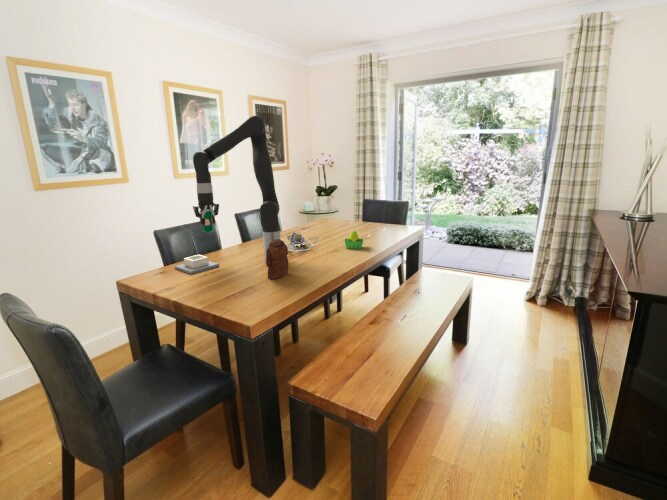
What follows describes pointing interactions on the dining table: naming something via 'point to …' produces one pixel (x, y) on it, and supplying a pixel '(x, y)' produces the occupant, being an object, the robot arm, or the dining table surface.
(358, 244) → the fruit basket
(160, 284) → the dining table surface
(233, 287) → the dining table surface
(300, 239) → the passion flower
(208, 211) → the soda can
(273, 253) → the wooden figurine
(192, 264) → the can holder
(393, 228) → the dining table surface
